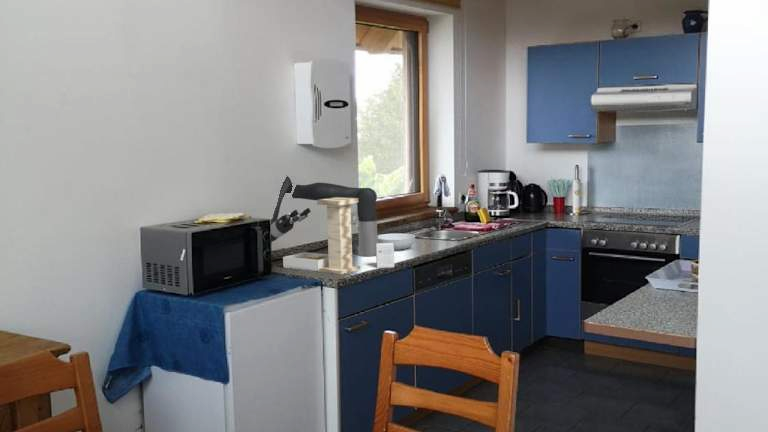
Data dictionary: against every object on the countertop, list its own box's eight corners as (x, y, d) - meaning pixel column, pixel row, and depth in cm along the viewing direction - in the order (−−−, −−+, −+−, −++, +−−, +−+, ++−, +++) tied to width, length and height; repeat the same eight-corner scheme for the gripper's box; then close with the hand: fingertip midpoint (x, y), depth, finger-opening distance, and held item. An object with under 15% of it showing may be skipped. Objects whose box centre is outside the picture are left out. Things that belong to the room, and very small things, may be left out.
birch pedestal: (339, 267, 360) (337, 197, 356) (360, 269, 353) (358, 198, 349) (319, 272, 348) (316, 200, 345) (340, 274, 342) (338, 200, 338)
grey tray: (305, 262, 374) (304, 252, 373) (339, 266, 362) (339, 255, 361) (283, 267, 362) (282, 256, 361) (318, 271, 349) (318, 260, 349)
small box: (393, 265, 361) (393, 242, 360) (394, 267, 356) (393, 244, 354) (376, 265, 361) (375, 243, 360) (376, 268, 355) (376, 244, 354)
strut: (300, 262, 368) (299, 252, 368) (326, 265, 359) (325, 254, 358) (291, 264, 364) (290, 253, 363) (317, 267, 354) (317, 256, 354)
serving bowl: (368, 251, 404) (367, 238, 403) (387, 245, 422) (386, 232, 421) (404, 253, 394) (404, 239, 393) (422, 247, 413) (422, 234, 412)
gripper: (267, 221, 364) (289, 204, 354) (288, 217, 375) (310, 202, 366) (274, 235, 362) (296, 219, 353) (294, 231, 374) (316, 216, 365)
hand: (303, 210), depth 360 cm, fingers open, 8 cm apart
